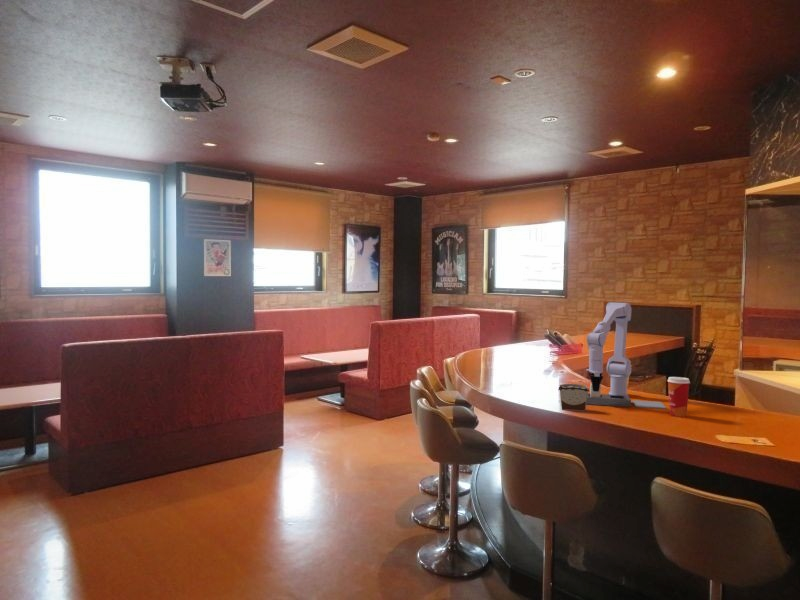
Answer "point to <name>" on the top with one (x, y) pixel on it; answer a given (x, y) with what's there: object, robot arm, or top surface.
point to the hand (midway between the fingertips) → (595, 390)
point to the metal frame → (609, 400)
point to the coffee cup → (678, 396)
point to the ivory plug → (595, 392)
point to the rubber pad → (648, 404)
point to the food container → (573, 397)
